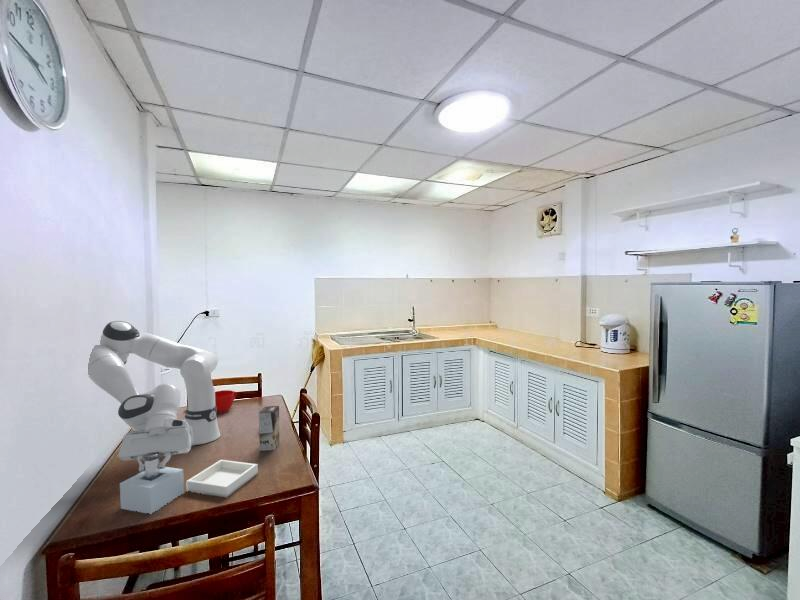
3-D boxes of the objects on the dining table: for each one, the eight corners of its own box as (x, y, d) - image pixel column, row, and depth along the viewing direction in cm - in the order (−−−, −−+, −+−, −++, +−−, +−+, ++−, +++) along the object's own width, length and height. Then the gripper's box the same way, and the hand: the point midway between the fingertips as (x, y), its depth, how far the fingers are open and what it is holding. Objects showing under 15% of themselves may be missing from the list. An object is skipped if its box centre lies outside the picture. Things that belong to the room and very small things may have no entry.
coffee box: (275, 450, 155) (274, 412, 155) (259, 451, 155) (258, 413, 154) (280, 441, 165) (279, 405, 164) (265, 442, 164) (264, 406, 163)
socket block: (120, 508, 115) (119, 483, 115) (155, 488, 127) (154, 465, 127) (151, 514, 112) (150, 488, 112) (184, 492, 124) (183, 469, 123)
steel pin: (142, 487, 118) (141, 456, 118) (153, 481, 122) (152, 451, 121) (152, 489, 117) (151, 457, 116) (163, 482, 121) (162, 452, 120)
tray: (186, 491, 125) (186, 481, 124) (221, 468, 140) (220, 459, 140) (226, 497, 120) (226, 487, 120) (257, 473, 136) (257, 464, 136)
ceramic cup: (245, 407, 214) (244, 389, 213) (220, 416, 198) (219, 397, 198) (228, 404, 219) (228, 387, 219) (203, 413, 204) (202, 395, 203)
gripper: (122, 428, 122) (109, 471, 113) (191, 420, 128) (185, 461, 119) (128, 436, 127) (116, 478, 118) (195, 428, 133) (189, 468, 124)
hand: (151, 469), depth 119 cm, fingers closed on steel pin, 4 cm apart
